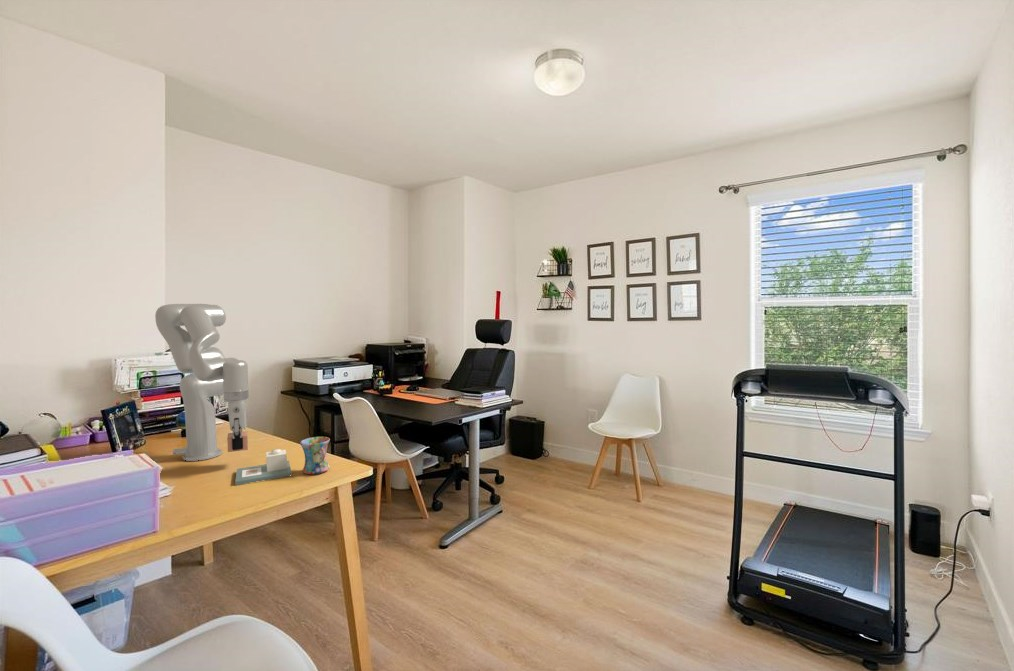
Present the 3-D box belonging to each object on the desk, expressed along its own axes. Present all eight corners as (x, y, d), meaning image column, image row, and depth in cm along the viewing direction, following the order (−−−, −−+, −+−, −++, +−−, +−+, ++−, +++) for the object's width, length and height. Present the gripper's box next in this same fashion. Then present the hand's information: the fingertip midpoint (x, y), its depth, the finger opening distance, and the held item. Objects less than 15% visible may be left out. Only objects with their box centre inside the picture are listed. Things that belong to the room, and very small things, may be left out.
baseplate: (235, 485, 148) (234, 462, 147) (236, 472, 160) (235, 451, 160) (291, 475, 155) (290, 454, 155) (288, 464, 168) (287, 444, 167)
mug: (297, 471, 160) (295, 440, 159) (324, 465, 166) (323, 435, 165) (310, 480, 151) (309, 447, 150) (339, 473, 157) (337, 441, 156)
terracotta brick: (227, 452, 162) (227, 437, 162) (228, 447, 167) (228, 433, 167) (247, 449, 165) (247, 435, 165) (247, 444, 170) (247, 431, 170)
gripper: (248, 399, 159) (250, 452, 160) (248, 390, 174) (250, 438, 175) (222, 401, 155) (224, 455, 157) (225, 392, 170) (226, 441, 172)
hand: (238, 446), depth 166 cm, fingers closed on terracotta brick, 6 cm apart
